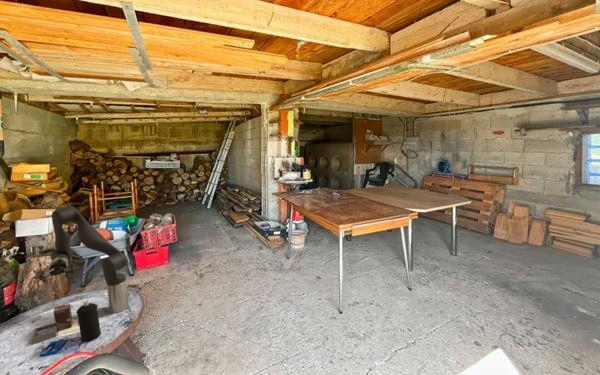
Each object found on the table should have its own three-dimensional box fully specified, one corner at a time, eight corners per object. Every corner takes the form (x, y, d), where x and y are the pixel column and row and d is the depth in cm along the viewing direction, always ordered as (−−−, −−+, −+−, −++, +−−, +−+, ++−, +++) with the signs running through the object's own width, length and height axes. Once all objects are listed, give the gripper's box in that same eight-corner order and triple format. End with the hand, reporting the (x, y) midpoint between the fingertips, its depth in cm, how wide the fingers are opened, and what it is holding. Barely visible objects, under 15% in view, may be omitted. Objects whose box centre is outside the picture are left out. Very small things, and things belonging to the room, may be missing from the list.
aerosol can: (105, 332, 138) (100, 298, 134) (88, 344, 131) (82, 308, 127) (93, 328, 141) (89, 294, 137) (76, 339, 133) (70, 304, 129)
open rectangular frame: (58, 324, 143) (57, 319, 143) (56, 336, 135) (55, 331, 134) (35, 331, 138) (34, 325, 137) (31, 344, 129) (30, 339, 129)
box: (56, 332, 137) (53, 311, 135) (58, 327, 141) (54, 306, 138) (72, 327, 141) (68, 307, 138) (73, 322, 144) (69, 303, 142)
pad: (78, 318, 148) (78, 318, 148) (76, 329, 140) (76, 329, 140) (59, 324, 143) (59, 324, 143) (57, 335, 135) (57, 335, 135)
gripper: (41, 263, 151) (36, 275, 138) (73, 256, 159) (71, 268, 147) (43, 275, 153) (38, 288, 140) (75, 268, 161) (73, 280, 148)
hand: (55, 278), depth 143 cm, fingers open, 8 cm apart
